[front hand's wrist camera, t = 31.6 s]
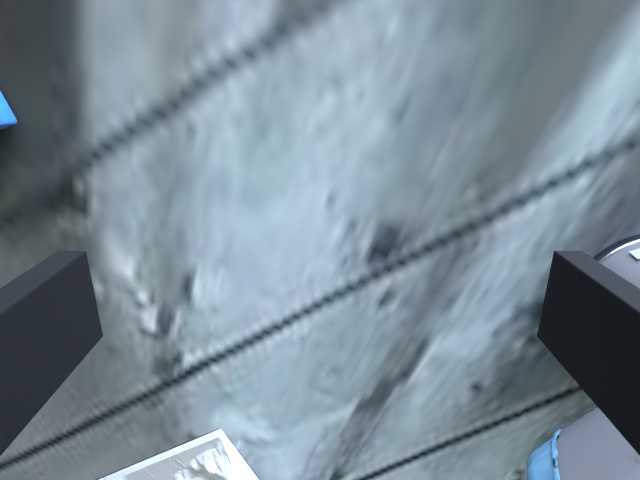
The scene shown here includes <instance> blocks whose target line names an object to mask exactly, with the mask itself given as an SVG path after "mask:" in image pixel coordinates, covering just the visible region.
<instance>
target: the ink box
mask: <svg viewBox="0 0 640 480" xmlns="http://www.w3.org/2000/svg"><path fill="white" fill-rule="evenodd" d="M14 124H17V120H16V118H15V116H14V114H13V112H12V111H11V109H10V107H9V105H8V104H7V102H6V100H5V98H4V97H3V95H2V93H1V91H0V130H1V129H4V128H7V127H9V126H12V125H14Z"/></svg>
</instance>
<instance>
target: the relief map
mask: <svg viewBox="0 0 640 480" xmlns="http://www.w3.org/2000/svg"><path fill="white" fill-rule="evenodd" d="M99 480H259V479H258V478H257V476H256V475H255V474H254V472H253V471H252V470H251V468H250V467H249V466H248V464H247V463H246V462H245V460H244V459H243V458H242V456H241V455H240V454H239V452H238V451H237V450H236V448H235V447H234V445H233V444H232V443H231V441H230V440H229V439H228V437H227V436H226V435H225V433H224V432H223V431H222V429H219V430H217V431H214V432H212V433H209V434H207V435H204V436H202V437H200V438H197V439H195V440H192V441H190V442H188V443H185V444H183V445H180V446H178V447H176V448H173V449H171V450H168V451H166V452H164V453H161V454H159V455H156V456H154V457H152V458H149V459H147V460H144V461H142V462H140V463H137V464H135V465H132V466H130V467H127V468H125V469H123V470H120V471H118V472H115V473H113V474H111V475H108V476H106V477H103V478H101V479H99Z"/></svg>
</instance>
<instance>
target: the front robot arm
mask: <svg viewBox="0 0 640 480" xmlns="http://www.w3.org/2000/svg"><path fill="white" fill-rule="evenodd" d="M102 336H103V334H102V329H101V324H100V319H99V314H98V309H97V304H96V299H95V294H94V289H93V284H92V279H91V274H90V269H89V264H88V259H87V254H86V251H58V252H56V253H55V254H53V255H51V256H50V257H48V258H47V259H45V260H44V261H42V262H41V263H39V264H38V265H36V266H34V267H33V268H31V269H30V270H28V271H27V272H25V273H24V274H22V275H21V276H19V277H17V278H16V279H14V280H13V281H11V282H10V283H8V284H7V285H5V286H4V287H2V288H0V456H1V454H2V453H3V452H4V451H5V450H6V449H7V447H8V446H9V445H10V444H11V443H12V442H13V440H14V439H15V438H16V437H17V436H18V435H19V433H20V432H21V431H22V430H23V429H24V428H25V426H26V425H27V424H28V423H29V422H30V420H31V419H32V418H33V417H34V416H35V415H36V413H37V412H38V411H39V410H40V409H41V408H42V406H43V405H44V404H45V403H46V402H47V401H48V399H49V398H50V397H51V396H52V395H53V394H54V392H55V391H56V390H57V389H58V388H59V387H60V385H61V384H62V383H63V382H64V381H65V380H66V378H67V377H68V376H69V375H70V374H71V373H72V371H73V370H74V369H75V368H76V367H77V365H78V364H79V363H80V362H81V361H82V360H83V358H84V357H85V356H86V355H87V354H88V353H89V351H90V350H91V349H92V348H93V347H94V346H95V344H96V343H97V342H98V341H99V340H100V339H101V337H102ZM537 336H538V337H539V339H540V340H541V341H542V342H543V343H544V344H545V346H546V347H547V348H548V349H549V350H550V351H551V353H552V354H553V355H554V356H555V357H556V358H557V360H558V361H559V362H560V363H561V364H562V365H563V367H564V368H565V369H566V370H567V371H568V373H569V374H570V375H571V376H572V377H573V378H574V380H575V381H576V382H577V383H578V384H579V385H580V387H581V388H582V389H583V390H584V391H585V392H586V394H587V395H588V396H589V397H590V398H591V399H592V401H593V402H594V403H595V404H596V405H597V406H598V407H597V408H595V409H594V410H592V411H591V412H589V413H588V414H586V415H584V416H583V417H581V418H580V419H578V420H577V421H575V422H573V423H572V424H570V425H569V426H567V427H566V428H564V429H559V430H557V431H556V432H555V433H554V435H553V437H552V438H551V439H549V440H548V441H547V442H545V443H544V444H543V445H541V446H540V447H539V448H537V449H536V450H535V451H533V452H532V454H531V455H530V457H529V459H528V462H527V480H640V235H637V236H633V237H630V238H626V239H624V240H622V241H619V242H617V243H615V244H613V245H611V246H610V247H608V248H606V249H605V250H604V251H602V252H601V253H599V254H598V255H597V256H596V257H595V258H594V259H593V258H592V257H590V256H589V255H587V254H585V253H584V252H582V251H554V254H553V259H552V264H551V269H550V274H549V279H548V284H547V289H546V294H545V299H544V304H543V309H542V314H541V319H540V324H539V329H538V334H537Z"/></svg>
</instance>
